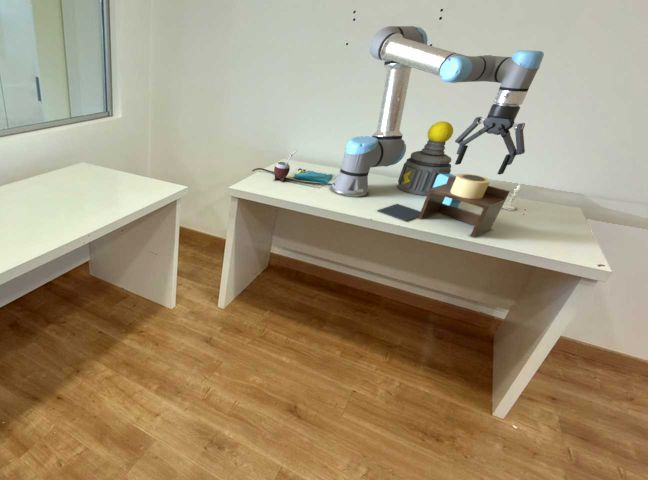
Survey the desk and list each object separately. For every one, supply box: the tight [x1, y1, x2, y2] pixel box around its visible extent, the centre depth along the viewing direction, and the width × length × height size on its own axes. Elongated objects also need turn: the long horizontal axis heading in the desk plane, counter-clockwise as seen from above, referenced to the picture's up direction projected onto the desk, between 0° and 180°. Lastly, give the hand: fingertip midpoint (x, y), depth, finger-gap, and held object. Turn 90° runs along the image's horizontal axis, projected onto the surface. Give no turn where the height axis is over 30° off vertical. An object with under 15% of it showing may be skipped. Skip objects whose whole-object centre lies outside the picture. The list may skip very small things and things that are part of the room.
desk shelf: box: [417, 175, 511, 238], centre depth 152 cm, size 20×13×15 cm, turn 32°
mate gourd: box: [273, 149, 299, 183], centre depth 194 cm, size 8×8×15 cm
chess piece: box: [501, 184, 521, 211], centre depth 168 cm, size 5×5×10 cm
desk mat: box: [377, 203, 421, 222], centre depth 165 cm, size 12×14×1 cm
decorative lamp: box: [397, 120, 454, 197], centre depth 181 cm, size 19×19×30 cm
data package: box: [433, 173, 462, 208], centre depth 169 cm, size 12×4×12 cm, turn 6°
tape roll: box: [450, 173, 491, 199], centre depth 148 cm, size 10×10×6 cm
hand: (478, 168), depth 144 cm, fingers open, 13 cm apart
